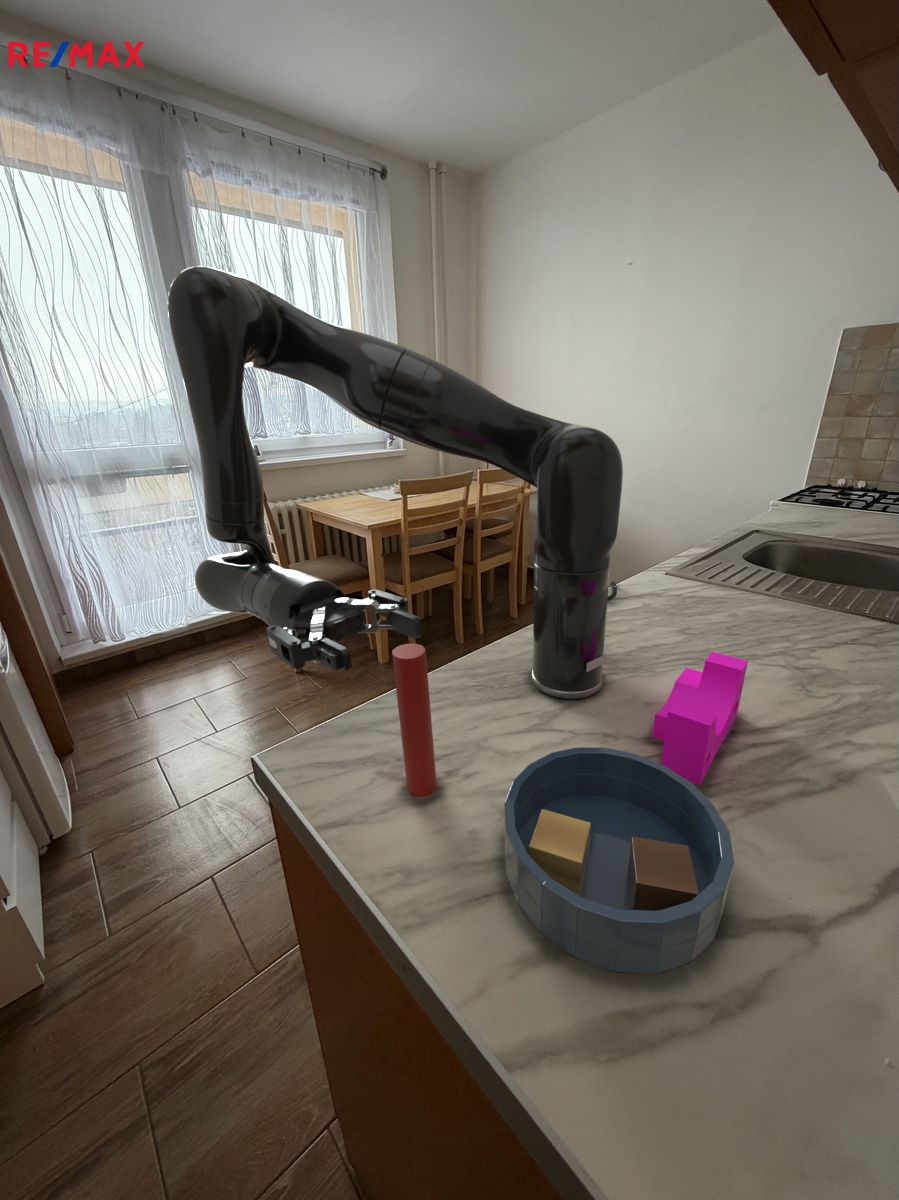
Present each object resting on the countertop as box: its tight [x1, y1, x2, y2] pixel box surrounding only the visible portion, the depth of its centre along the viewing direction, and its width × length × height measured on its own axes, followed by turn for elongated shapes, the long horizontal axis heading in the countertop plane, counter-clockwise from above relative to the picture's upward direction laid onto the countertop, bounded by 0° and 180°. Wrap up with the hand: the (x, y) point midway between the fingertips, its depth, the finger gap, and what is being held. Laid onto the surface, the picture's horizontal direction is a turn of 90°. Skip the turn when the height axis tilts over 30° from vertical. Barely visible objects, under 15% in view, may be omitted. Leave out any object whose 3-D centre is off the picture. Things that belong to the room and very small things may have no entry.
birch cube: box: [529, 809, 591, 896], centre depth 38 cm, size 4×4×4 cm
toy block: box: [652, 651, 749, 785], centre depth 53 cm, size 15×6×8 cm, turn 139°
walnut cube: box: [628, 837, 699, 911], centre depth 36 cm, size 4×4×4 cm
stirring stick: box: [391, 643, 438, 798], centre depth 46 cm, size 3×3×16 cm
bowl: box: [503, 747, 735, 975], centre depth 39 cm, size 17×17×6 cm
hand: (385, 644), depth 46 cm, fingers open, 8 cm apart
